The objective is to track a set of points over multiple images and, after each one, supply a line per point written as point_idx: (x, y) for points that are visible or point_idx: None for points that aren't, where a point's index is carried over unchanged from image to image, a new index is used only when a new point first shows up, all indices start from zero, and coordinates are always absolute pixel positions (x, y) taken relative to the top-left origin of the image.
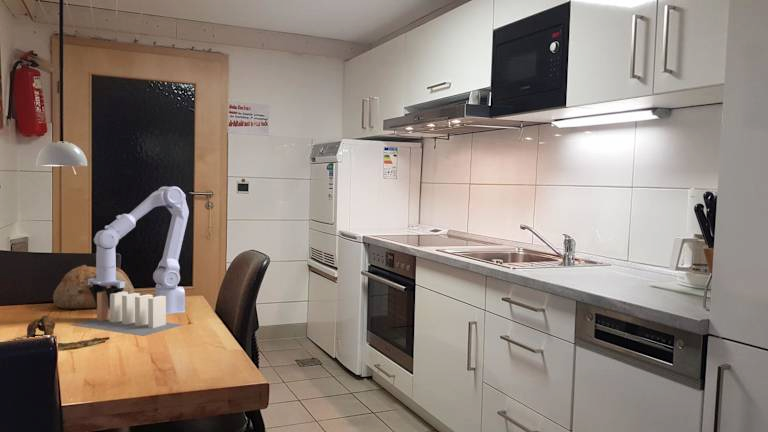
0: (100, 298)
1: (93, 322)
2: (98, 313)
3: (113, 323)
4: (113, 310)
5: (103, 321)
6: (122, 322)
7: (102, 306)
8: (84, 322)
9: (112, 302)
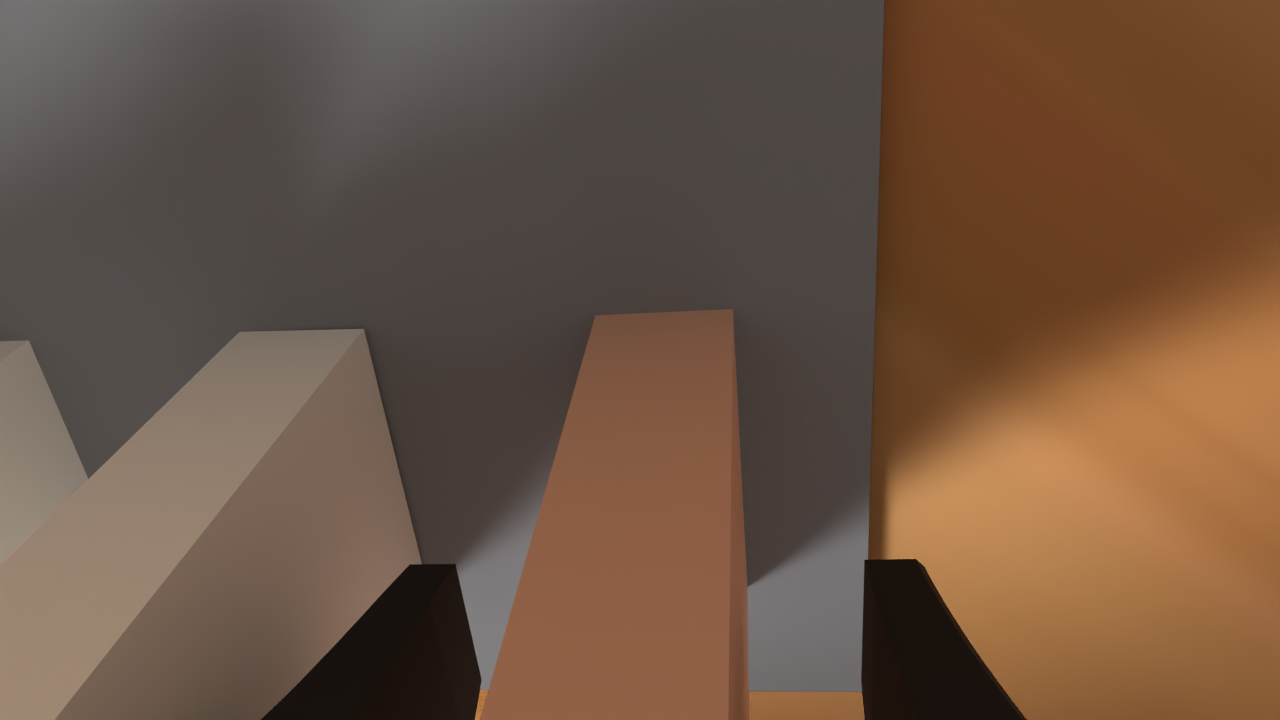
0: (541, 703)
1: (591, 124)
2: (680, 390)
3: (163, 273)
4: (111, 477)
5: (505, 295)
6: (2, 352)
7: (543, 534)
8: (776, 9)
9: (9, 632)
